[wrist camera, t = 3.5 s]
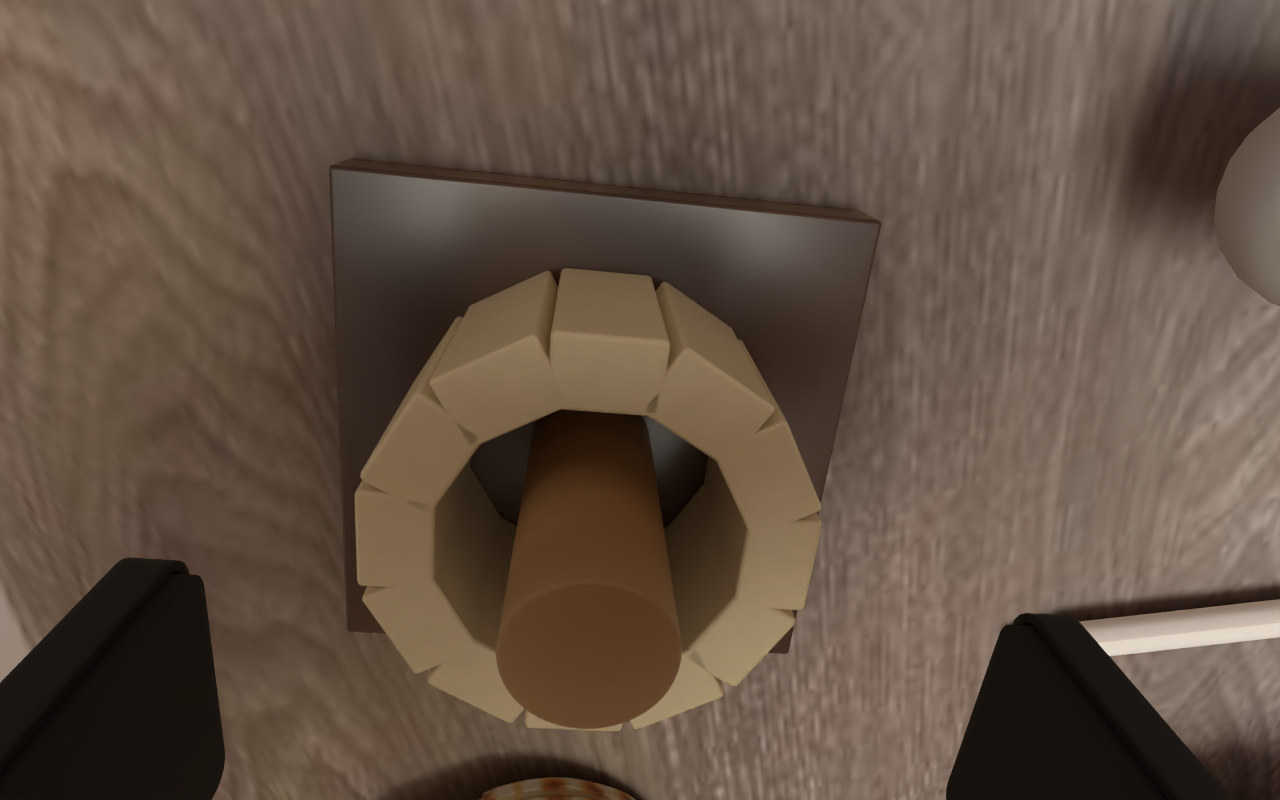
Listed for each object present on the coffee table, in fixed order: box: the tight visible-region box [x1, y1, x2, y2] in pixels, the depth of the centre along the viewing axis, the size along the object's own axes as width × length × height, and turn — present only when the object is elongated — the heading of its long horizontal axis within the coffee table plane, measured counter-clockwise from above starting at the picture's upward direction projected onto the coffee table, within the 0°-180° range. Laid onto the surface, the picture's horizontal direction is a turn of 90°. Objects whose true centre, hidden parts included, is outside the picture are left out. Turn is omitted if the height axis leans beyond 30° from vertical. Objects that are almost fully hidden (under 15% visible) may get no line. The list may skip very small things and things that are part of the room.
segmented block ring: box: [355, 268, 822, 731], centre depth 14 cm, size 7×7×4 cm
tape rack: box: [329, 159, 881, 729], centre depth 14 cm, size 10×10×8 cm
